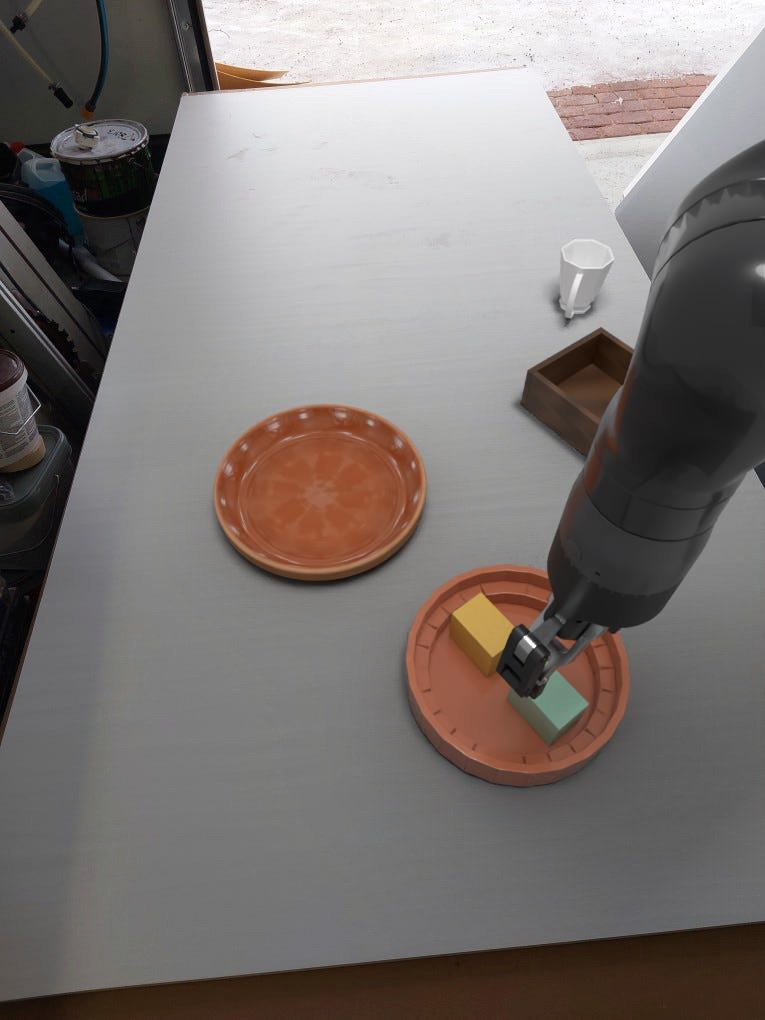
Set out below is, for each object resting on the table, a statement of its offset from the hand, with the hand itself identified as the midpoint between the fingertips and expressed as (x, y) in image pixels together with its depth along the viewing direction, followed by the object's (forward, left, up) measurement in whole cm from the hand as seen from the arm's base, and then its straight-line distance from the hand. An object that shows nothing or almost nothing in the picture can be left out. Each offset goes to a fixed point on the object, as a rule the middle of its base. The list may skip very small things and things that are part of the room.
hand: (567, 654), depth 52 cm
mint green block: (0, 0, -12) cm, 12 cm away
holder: (+22, -32, -13) cm, 41 cm away
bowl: (+4, 0, -13) cm, 13 cm away
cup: (+38, -44, -13) cm, 60 cm away
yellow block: (+8, 0, -12) cm, 14 cm away
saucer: (+32, +2, -13) cm, 34 cm away
